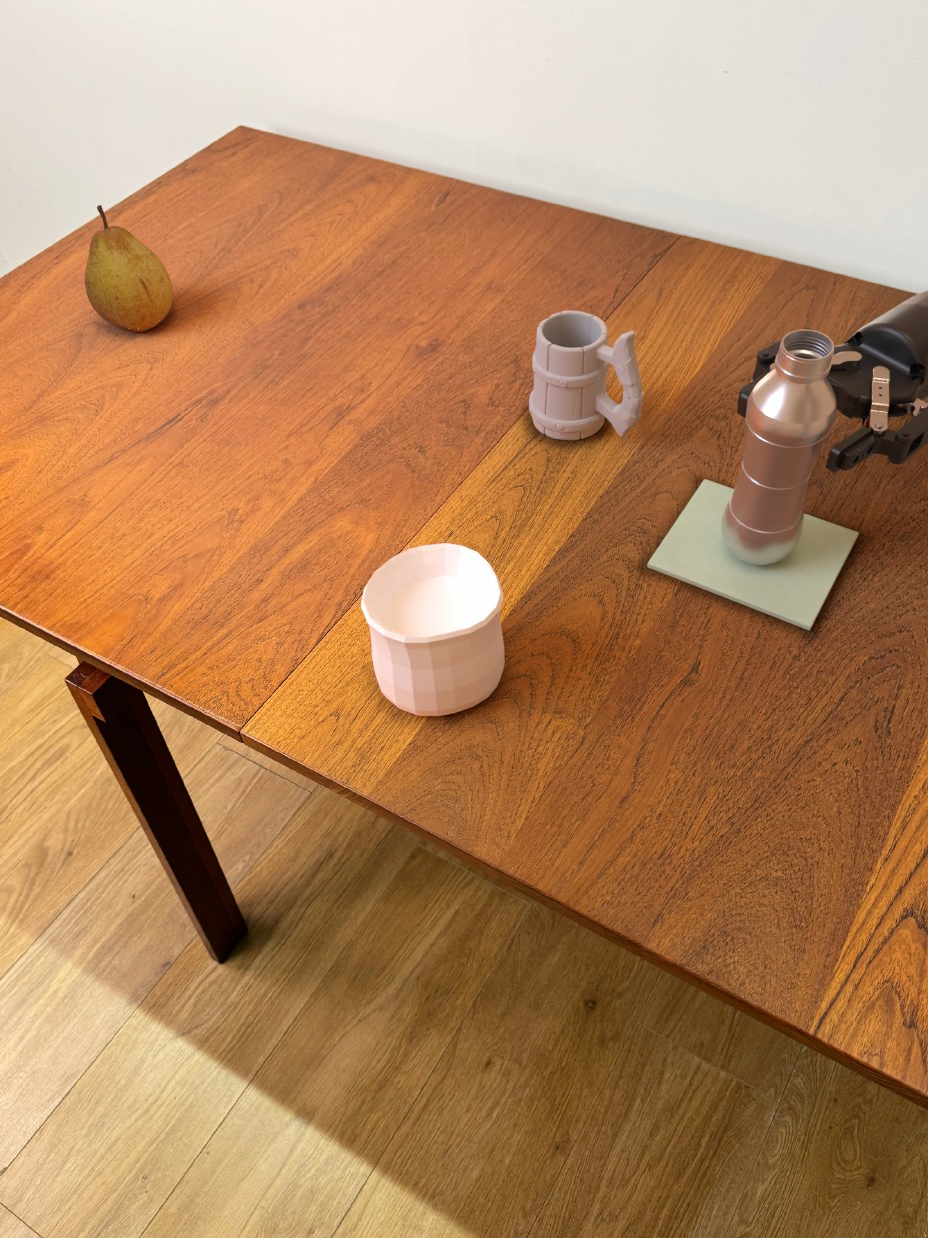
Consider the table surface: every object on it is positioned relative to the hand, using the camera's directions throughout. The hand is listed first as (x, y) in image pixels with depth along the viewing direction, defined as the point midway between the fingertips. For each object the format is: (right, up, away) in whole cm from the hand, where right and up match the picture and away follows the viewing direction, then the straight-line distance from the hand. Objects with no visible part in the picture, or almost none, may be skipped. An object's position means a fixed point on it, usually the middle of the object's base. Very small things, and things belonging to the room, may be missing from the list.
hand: (784, 432), depth 75 cm
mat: (0, -8, +9) cm, 13 cm away
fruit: (-60, +20, +37) cm, 73 cm away
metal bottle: (0, -8, +9) cm, 12 cm away
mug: (-12, +4, +21) cm, 25 cm away
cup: (-26, -18, +3) cm, 32 cm away
